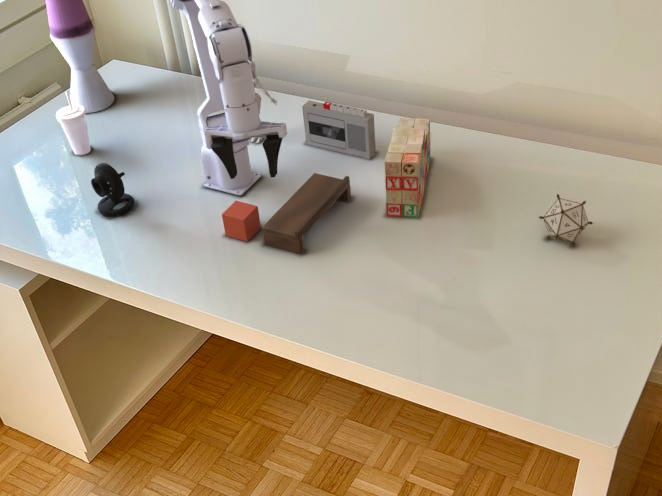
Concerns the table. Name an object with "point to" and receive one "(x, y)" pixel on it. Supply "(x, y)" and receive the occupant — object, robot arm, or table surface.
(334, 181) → the shelf
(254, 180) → the robot arm
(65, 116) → the smoothie
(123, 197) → the webcam
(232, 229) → the block
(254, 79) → the human figurine
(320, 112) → the cassette player
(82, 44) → the lamp
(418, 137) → the stack of blocks
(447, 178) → the table surface
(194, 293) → the table surface
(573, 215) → the game die
